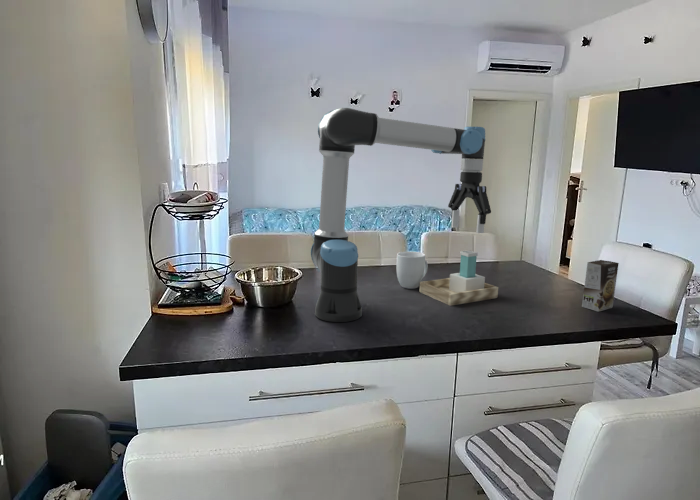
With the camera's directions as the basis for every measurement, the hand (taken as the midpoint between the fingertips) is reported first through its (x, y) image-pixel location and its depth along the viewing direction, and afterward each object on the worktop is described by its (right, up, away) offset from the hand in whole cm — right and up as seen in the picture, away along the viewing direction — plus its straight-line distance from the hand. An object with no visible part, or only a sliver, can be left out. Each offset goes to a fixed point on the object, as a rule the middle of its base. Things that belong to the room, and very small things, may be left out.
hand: (466, 230), depth 173 cm
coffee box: (+43, -27, -9) cm, 52 cm away
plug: (+1, -20, +4) cm, 20 cm away
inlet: (+1, -23, +5) cm, 23 cm away
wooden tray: (-3, -24, +3) cm, 24 cm away
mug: (-19, -22, +14) cm, 32 cm away
